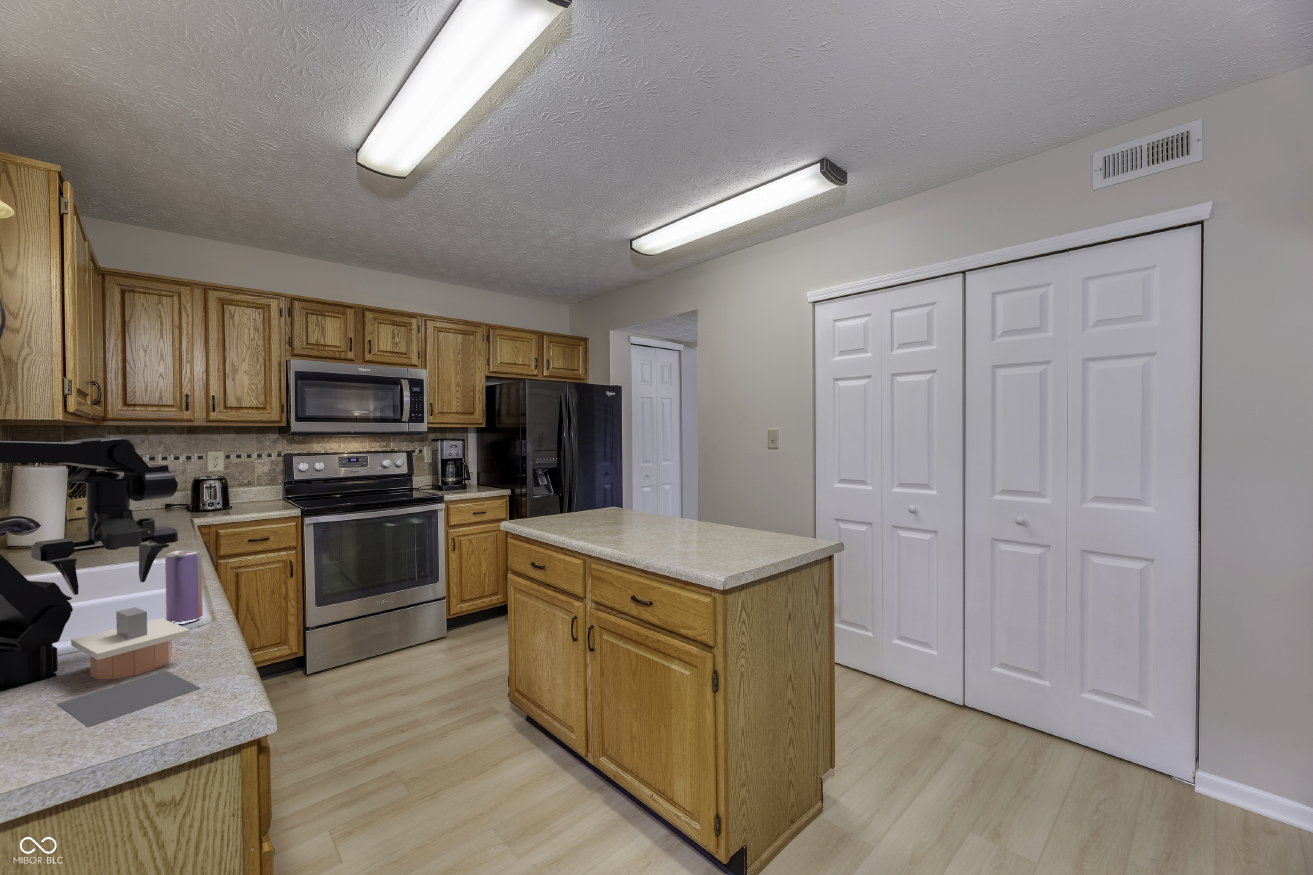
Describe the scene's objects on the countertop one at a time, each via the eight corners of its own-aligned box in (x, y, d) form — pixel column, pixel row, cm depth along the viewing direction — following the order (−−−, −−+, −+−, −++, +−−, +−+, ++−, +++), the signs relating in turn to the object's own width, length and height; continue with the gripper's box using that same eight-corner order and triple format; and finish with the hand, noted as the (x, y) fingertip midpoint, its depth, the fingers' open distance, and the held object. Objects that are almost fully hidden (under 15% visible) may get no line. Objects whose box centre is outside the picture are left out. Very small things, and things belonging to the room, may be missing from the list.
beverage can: (186, 626, 116) (185, 555, 116) (158, 625, 116) (157, 555, 116) (209, 616, 122) (208, 549, 122) (183, 616, 122) (182, 549, 122)
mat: (88, 730, 76) (88, 727, 76) (56, 707, 83) (56, 703, 83) (201, 691, 88) (201, 688, 88) (166, 673, 94) (166, 670, 94)
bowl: (104, 686, 89) (104, 656, 89) (82, 673, 94) (81, 644, 94) (181, 663, 98) (180, 635, 98) (157, 652, 103) (156, 625, 103)
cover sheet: (97, 660, 88) (96, 628, 88) (71, 645, 94) (70, 616, 93) (190, 635, 98) (189, 607, 98) (161, 623, 104) (160, 597, 104)
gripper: (50, 515, 91) (52, 609, 91) (189, 501, 107) (191, 581, 107) (29, 510, 96) (31, 599, 96) (164, 498, 112) (166, 574, 113)
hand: (110, 588), depth 103 cm, fingers open, 9 cm apart
